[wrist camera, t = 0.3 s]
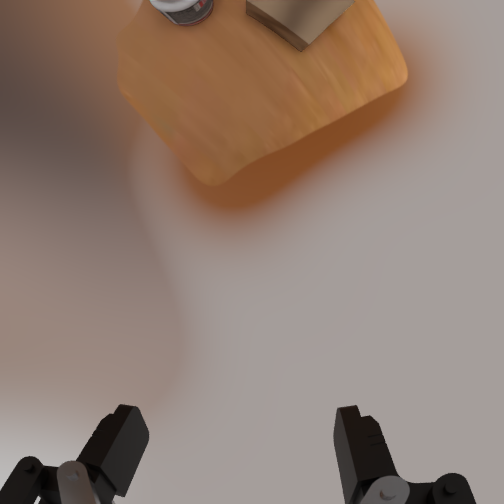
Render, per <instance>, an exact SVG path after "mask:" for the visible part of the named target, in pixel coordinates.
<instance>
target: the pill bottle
mask: <svg viewBox="0 0 504 504" xmlns="http://www.w3.org/2000/svg"><path fill="white" fill-rule="evenodd" d="M150 2H151V4H152V5H153V6H154V7H155V8H156V9H157V10H159V11H160V12H161V13H162V14H163V15H164V16H165V17H167V18H168V19H169V20H170V21H171V22H173V23H175V24H177V25H182V26H189V25H194V24H197V23H199V22H201V21H203V20H204V19H205V18H207V17H208V15H209V14H210V13H211V11H212V9H213V0H150Z"/></svg>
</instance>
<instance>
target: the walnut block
mask: <svg viewBox="0 0 504 504" xmlns="http://www.w3.org/2000/svg"><path fill="white" fill-rule="evenodd" d="M354 2H355V1H354V0H246V13H247V14H249V15H250V16H252V17H253V18H255V19H256V20H258V21H259V22H261V23H262V24H264V25H265V26H267V27H268V28H270V29H271V30H272V31H274V32H275V33H277V34H278V35H279V36H281V37H282V38H284V39H285V40H286V41H288V42H289V43H290V44H292V45H293V46H294V47H295V48H297V49H298V50H299V51H300V52H301V51H302V50H304V49H305V48H306V47H307V46H308V45H310V44H311V43H312V42H313V41H314V40H315V39H316V38H317V37H318V36H319V35H320V34H321V33H322V32H323V31H324V30H325V29H326V28H327V27H328V26H329V25H330V24H331V23H332V22H333V21H334V20H336V19H337V18H338V17H339V16H340V15H341V14H342V13H343V12H344V11H345V10H346V9H348V8H349V7H350V6H351V5H352V4H353V3H354Z"/></svg>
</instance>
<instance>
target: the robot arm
mask: <svg viewBox="0 0 504 504" xmlns="http://www.w3.org/2000/svg"><path fill="white" fill-rule="evenodd" d="M148 441H149V431H148V428H147V426H146V424H145V421H144V419H143V417H142V415H141V412H140V410H139V408H138V407H136V406H129V405H123V404H120V405H119V406H118V407H117V409H116V410H115V412H114V414H109V415H107V416H106V417H105V418H103V419H102V420H101V421H100V423H99V425H98V426H97V428H96V430H95V431H94V432H93V434H92V437H90V439H89V440H88V442H87V444H86V445H85V447H84V448H83V450H82V452H81V454H80V455H79V457H78V458H77V459H76V461H67V462H65V463H63V464H62V465H61V466H60V467H52V466H44V465H43V464H42V463H41V462H40V461H39V459H37V458H36V457H33V456H28V457H24V458H22V459H21V460H20V461H19V462H18V464H17V465H16V467H15V468H14V470H13V471H12V473H11V474H10V476H9V478H8V479H7V481H6V482H5V484H4V486H3V487H2V489H1V491H0V504H34V502H35V500H36V498H37V497H38V496H39V497H41V499H40V501H39V503H38V504H115V503H114V501H113V498H114V496H115V495H118V496H121V497H125V495H126V493H127V490H128V488H129V486H130V483H131V481H132V479H133V476H134V474H135V472H136V469H137V467H138V464H139V462H140V460H141V458H142V455H143V453H144V451H145V448H146V446H147V444H148ZM334 446H335V451H336V457H337V462H338V467H339V472H340V477H341V483H342V488H343V494H344V499H345V504H476V502H475V499H474V496H473V494H472V492H471V489H470V486H469V484H468V482H467V480H466V478H465V477H463V476H462V475H460V474H457V473H448V474H445V475H443V476H441V477H440V478H439V479H437V481H436V482H431V483H410V482H407V481H405V480H404V479H402V478H401V477H400V476H399V475H398V474H397V471H396V469H395V466H394V463H393V461H392V458H391V455H390V452H389V449H388V447H387V444H386V443H385V439H384V436H383V435H382V431H381V428H380V426H379V423H378V422H377V421H375V419H373V418H372V417H371V416H370V415H369V416H364V417H361V415H360V412H359V409H358V407H357V405H354V406H347V407H340V408H338V409H337V413H336V420H335V427H334Z"/></svg>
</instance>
